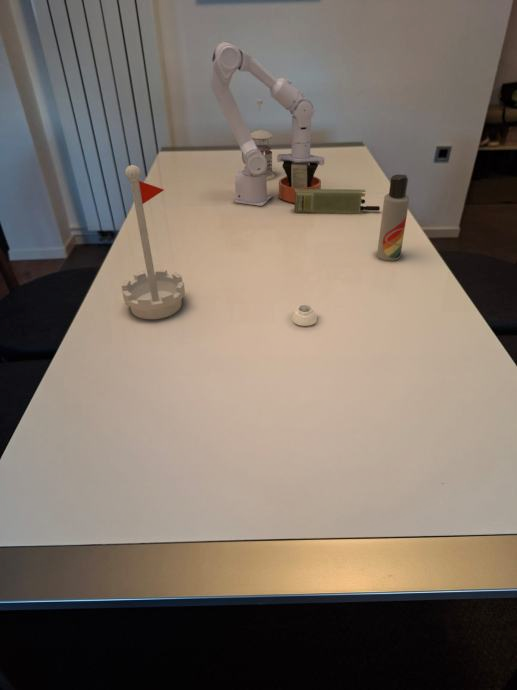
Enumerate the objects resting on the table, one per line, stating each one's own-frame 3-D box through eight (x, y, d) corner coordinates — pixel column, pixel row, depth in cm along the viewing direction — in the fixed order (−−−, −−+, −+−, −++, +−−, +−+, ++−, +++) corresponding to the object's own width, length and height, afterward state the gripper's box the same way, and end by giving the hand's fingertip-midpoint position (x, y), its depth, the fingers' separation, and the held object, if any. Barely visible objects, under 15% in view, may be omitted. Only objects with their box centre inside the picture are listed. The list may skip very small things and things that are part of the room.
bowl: (272, 201, 156) (272, 185, 153) (287, 187, 166) (287, 172, 163) (312, 206, 152) (313, 190, 149) (325, 192, 162) (326, 177, 159)
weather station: (244, 179, 174) (240, 101, 159) (253, 169, 183) (251, 94, 168) (270, 181, 172) (270, 102, 157) (279, 171, 181) (279, 95, 166)
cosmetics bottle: (308, 192, 160) (309, 161, 154) (306, 197, 156) (308, 165, 150) (292, 192, 161) (293, 160, 155) (290, 197, 157) (291, 164, 151)
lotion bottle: (400, 262, 121) (413, 180, 109) (376, 260, 122) (387, 179, 110) (399, 251, 126) (412, 172, 114) (377, 250, 127) (386, 171, 115)
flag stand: (128, 326, 102) (95, 180, 84) (124, 295, 112) (94, 159, 94) (190, 315, 104) (172, 172, 86) (181, 286, 114) (163, 152, 96)
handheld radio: (295, 209, 151) (378, 210, 148) (294, 213, 148) (379, 214, 146) (295, 187, 146) (381, 188, 144) (294, 192, 144) (382, 192, 141)
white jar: (310, 311, 104) (288, 317, 103) (310, 299, 102) (288, 305, 101) (320, 324, 100) (298, 329, 99) (321, 311, 99) (298, 317, 97)
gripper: (273, 143, 148) (274, 188, 156) (321, 146, 144) (319, 192, 152) (281, 137, 153) (281, 181, 161) (327, 140, 149) (324, 184, 157)
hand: (300, 186), depth 157 cm, fingers closed on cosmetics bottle, 5 cm apart
